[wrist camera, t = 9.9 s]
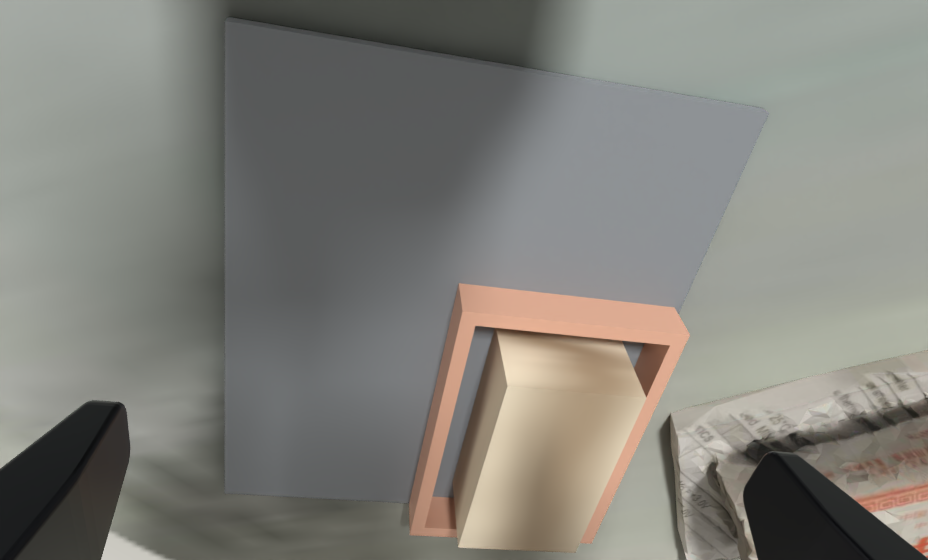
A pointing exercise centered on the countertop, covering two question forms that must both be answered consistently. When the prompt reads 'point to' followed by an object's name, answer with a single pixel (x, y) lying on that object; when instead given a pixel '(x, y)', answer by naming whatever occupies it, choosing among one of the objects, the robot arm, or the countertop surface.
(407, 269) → the mat
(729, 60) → the countertop surface
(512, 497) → the cream rectangular prism
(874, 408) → the packaged product
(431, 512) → the frame
